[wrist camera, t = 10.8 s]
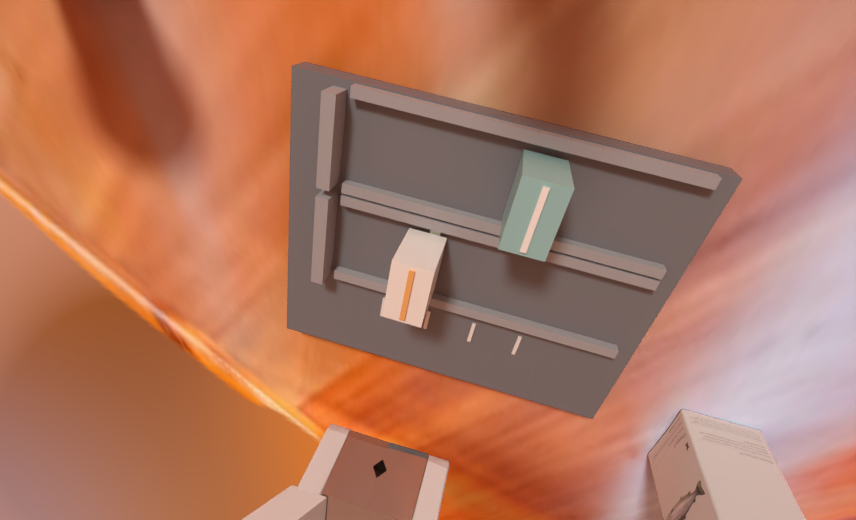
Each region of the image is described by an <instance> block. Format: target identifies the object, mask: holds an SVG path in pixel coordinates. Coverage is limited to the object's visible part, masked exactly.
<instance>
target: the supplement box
mask: <svg viewBox="0 0 856 520" xmlns="http://www.w3.org/2000/svg"><path fill="white" fill-rule="evenodd" d="M648 458H649V462H650V466H651V471H652V475H653V479H654V483H655V487H656V492H657V496H658V500H659V504H660V508H661V512H662V517H663V520H806V519H805V517H804V515H803V513H802V511H801V509H800V507H799V505H798V503H797V501H796V499H795V497H794V495H793V493H792V491H791V490H790V488H789V486H788V484H787V482H786V480H785V478H784V476H783V474H782V472H781V470H780V468H779V466H778V464H777V462H776V460H775V458H774V456H773V454H772V452H771V451H770V449H769V447H768V445H767V443H766V441H765V439H764V437H763V435H762V433H761V431H759V430H756V429H753V428H749V427H746V426H742V425H738V424H735V423H732V422H728V421H724V420H721V419H718V418H714V417H710V416H707V415H703V414H699V413H696V412H692V411H688V410H684V409H682V410H681V411H680V412H679V414H678V415H677V417H676V419H675V420H674V422H673V423H672V424H671V426H670V427H669V429H668V430H667V431H666V432H665V434H664V435H663V436H662V438H661V439H660V440H659V441H658V443H657V444H656V445H655V446H654V447H653V449H652V450H651V451H650V452H649V453H648Z"/></svg>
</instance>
